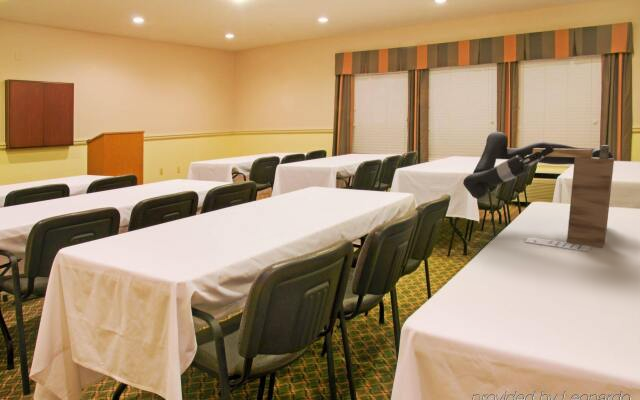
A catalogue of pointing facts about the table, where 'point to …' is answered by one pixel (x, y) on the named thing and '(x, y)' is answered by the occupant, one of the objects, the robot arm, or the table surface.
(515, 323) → the table surface
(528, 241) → the letter
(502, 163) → the robot arm
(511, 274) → the table surface
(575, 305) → the table surface
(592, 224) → the brown piece
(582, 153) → the block
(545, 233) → the table surface
